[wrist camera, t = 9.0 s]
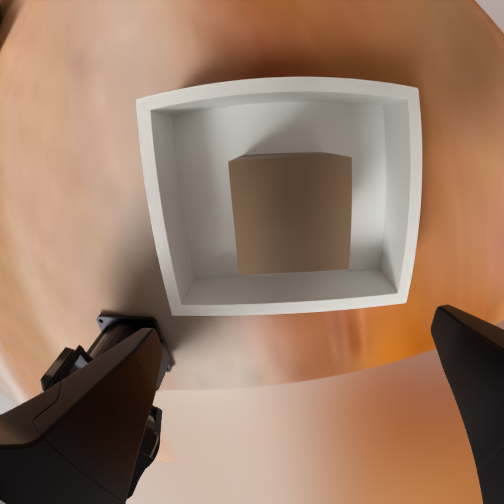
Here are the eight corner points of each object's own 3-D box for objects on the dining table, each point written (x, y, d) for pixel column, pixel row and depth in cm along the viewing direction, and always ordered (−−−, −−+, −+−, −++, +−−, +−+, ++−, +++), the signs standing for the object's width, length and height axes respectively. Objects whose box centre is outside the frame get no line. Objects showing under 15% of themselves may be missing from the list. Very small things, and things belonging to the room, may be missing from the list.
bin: (189, 282, 21) (172, 315, 17) (165, 107, 16) (135, 99, 12) (383, 272, 20) (406, 302, 15) (386, 97, 15) (417, 87, 10)
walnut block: (248, 232, 18) (238, 274, 12) (241, 155, 16) (228, 161, 11) (324, 229, 18) (348, 269, 12) (323, 152, 16) (351, 157, 10)
